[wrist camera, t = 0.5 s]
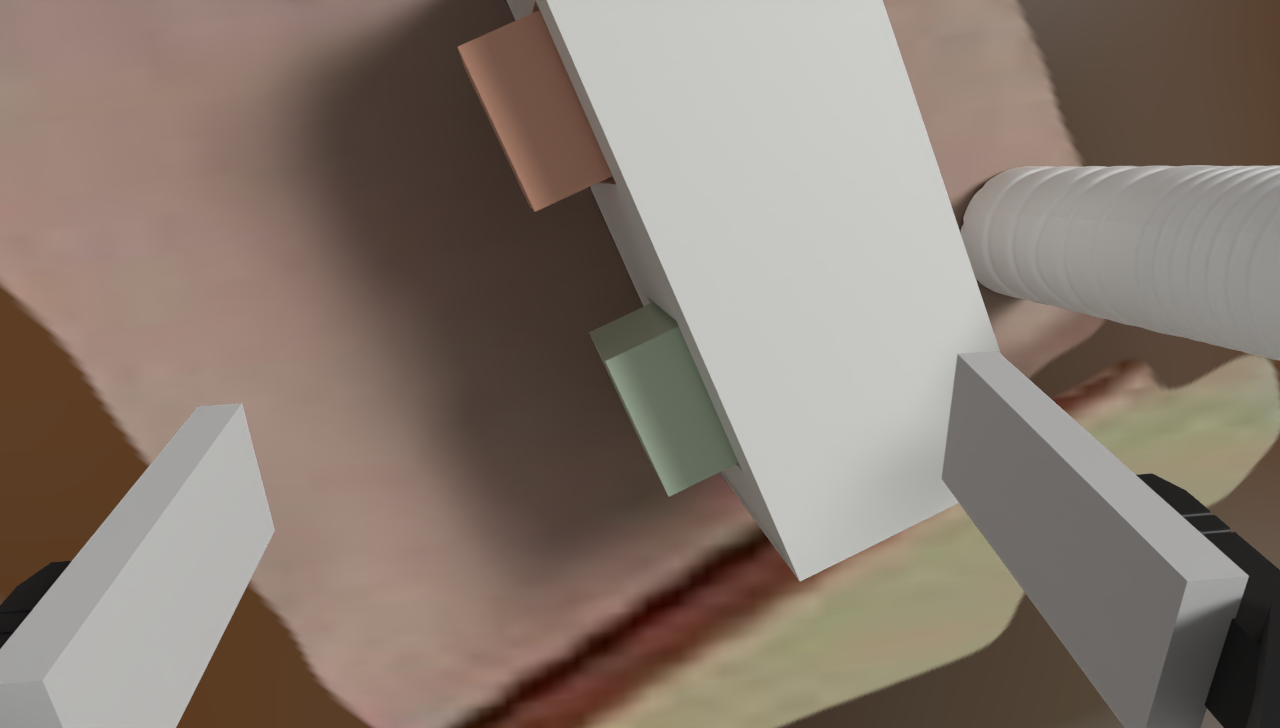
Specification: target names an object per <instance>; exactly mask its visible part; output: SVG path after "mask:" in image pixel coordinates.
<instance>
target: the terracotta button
mask: <svg viewBox="0 0 1280 728" xmlns="http://www.w3.org/2000/svg"><path fill="white" fill-rule="evenodd" d="M458 50H459V53H460V56H461V59H462V62H463V66H464V68H465V70H466V72H467V75H468V77H469V79H470V81H471V83H472V85H473V87H474V89H475V92H476V94H477V96H478V98H479V100H480V102H481V104H482V107H483V109H484V111H485V113H486V115H487V117H488V119H489V121H490V124H491V126H492V128H493V130H494V132H495V134H496V136H497V138H498V141H499V143H500V145H501V147H502V149H503V151H504V153H505V155H506V158H507V160H508V162H509V164H510V166H511V168H512V170H513V172H514V175H515V177H516V179H517V181H518V183H519V185H520V187H521V189H522V192H523V194H524V196H525V198H526V200H527V202H528V204H529V206H530V207H531V208H532V209H533V210H534V211H535V212H536V211H538V210H540V209H543V208H545V207H547V206H549V205H551V204H553V203H556V202H558V201H560V200H562V199H564V198H566V197H569V196H571V195H573V194H575V193H577V192H579V191H582V190H584V189H586V188H588V187H590V186H592V185H595V184H597V183H599V182H601V181H603V180H605V179H608V178H610V177H612V173H611V171H610V169H609V167H608V164H607V162H606V160H605V157H604V155H603V153H602V151H601V148H600V146H599V144H598V142H597V139H596V137H595V135H594V132H593V130H592V128H591V126H590V123H589V121H588V119H587V116H586V114H585V112H584V110H583V107H582V105H581V103H580V101H579V98H578V96H577V94H576V91H575V89H574V87H573V85H572V82H571V80H570V78H569V75H568V73H567V71H566V69H565V66H564V64H563V62H562V60H561V57H560V55H559V53H558V50H557V48H556V46H555V44H554V41H553V39H552V37H551V35H550V32H549V30H548V28H547V25H546V23H545V21H544V19H543V16H542V14H541V12H540V10H538V11H536V12H534V13H532V14H529V15H527V16H525V17H523V18H520V19H518V20H516V21H514V22H511V23H509V24H507V25H505V26H503V27H500V28H498V29H496V30H494V31H491V32H489V33H487V34H485V35H483V36H480V37H478V38H476V39H474V40H471V41H469V42H467V43H465V44H462V45H460V46H458Z"/></svg>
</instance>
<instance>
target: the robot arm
mask: <svg viewBox="0 0 1280 728" xmlns="http://www.w3.org/2000/svg"><path fill="white" fill-rule="evenodd" d="M942 480H943V481H944V483H945V484H946V486H947V487H948V488H949V490H950V491H951V492H952V494H953V495H954V496H955V498H956V499H957V501H958V502H959V503H960V505H961V506H962V507H963V509H964V510H965V511H966V513H967V514H968V515H969V517H970V518H971V520H972V521H973V522H974V524H975V525H976V526H977V528H978V529H979V530H980V532H981V533H982V534H983V536H984V537H985V539H986V540H987V541H988V543H989V544H990V545H991V547H992V548H993V549H994V551H995V552H996V554H997V555H998V556H999V558H1000V559H1001V560H1002V562H1003V563H1004V564H1005V566H1006V567H1007V568H1008V570H1009V571H1010V573H1011V574H1012V575H1013V577H1014V578H1015V579H1016V581H1017V582H1018V583H1019V585H1020V586H1021V587H1022V589H1023V590H1024V592H1025V593H1026V594H1027V596H1028V597H1029V598H1030V600H1031V601H1032V602H1033V604H1034V605H1035V607H1036V608H1037V609H1038V610H1039V612H1040V613H1041V615H1042V616H1043V617H1044V619H1045V620H1046V621H1047V622H1048V624H1049V626H1050V627H1051V628H1052V630H1053V631H1054V632H1055V634H1056V635H1057V636H1058V638H1059V639H1060V640H1061V642H1062V643H1063V644H1064V646H1065V647H1066V649H1067V650H1068V651H1069V653H1070V654H1071V655H1072V657H1073V658H1074V660H1075V661H1076V662H1077V664H1078V665H1079V666H1080V668H1081V669H1082V670H1083V672H1084V673H1085V674H1086V676H1087V677H1088V679H1089V680H1090V681H1091V682H1092V684H1093V685H1094V687H1095V688H1096V689H1097V691H1098V692H1099V693H1100V695H1101V696H1102V698H1103V699H1104V700H1105V702H1106V703H1107V704H1108V706H1109V707H1110V708H1111V710H1112V711H1113V712H1114V714H1115V715H1116V717H1117V718H1118V719H1119V721H1120V722H1121V723H1122V725H1123V726H1124V727H1125V728H1200V727H1201V724H1202V721H1203V718H1204V715H1205V712H1206V709H1208V710H1209V711H1210V712H1211V713H1212V714H1213V716H1214V717H1215V718H1216V719H1217V720H1218V721H1219V722H1220V724H1221V725H1222V726H1223V727H1224V728H1280V570H1279V569H1278V568H1277V567H1276V566H1274V565H1273V564H1272V563H1271V562H1270V561H1268V560H1267V559H1266V558H1265V557H1264V556H1262V555H1261V554H1260V553H1259V552H1258V551H1257V550H1256V549H1254V548H1253V547H1252V546H1251V545H1250V544H1248V543H1247V542H1246V541H1245V540H1244V539H1242V538H1241V537H1240V536H1239V535H1238V534H1237V533H1235V532H1230V528H1229V527H1228V526H1227V525H1226V524H1225V523H1224V522H1222V521H1221V520H1220V519H1219V518H1218V517H1217V516H1215V515H1211V514H1210V511H1209V510H1208V509H1207V508H1206V507H1205V506H1204V505H1202V504H1201V503H1200V502H1199V501H1198V500H1196V499H1195V498H1194V497H1193V496H1192V495H1191V494H1189V493H1188V492H1187V491H1186V490H1184V489H1182V488H1180V487H1178V486H1176V485H1174V484H1172V483H1170V482H1168V481H1166V480H1164V479H1162V478H1160V477H1158V476H1156V475H1154V474H1141V475H1135V474H1134V473H1133V472H1132V471H1131V470H1130V469H1129V468H1128V467H1126V466H1125V465H1124V464H1123V463H1122V462H1121V461H1120V460H1119V459H1117V458H1116V457H1115V456H1114V455H1113V454H1112V453H1111V452H1110V451H1108V450H1107V449H1106V448H1105V447H1104V446H1103V445H1102V444H1101V443H1100V442H1098V441H1097V440H1096V439H1095V438H1094V437H1093V436H1092V435H1091V434H1089V433H1088V432H1087V431H1086V430H1085V429H1084V428H1083V427H1082V426H1081V425H1079V424H1078V423H1077V422H1076V421H1075V420H1074V419H1073V418H1072V417H1070V416H1069V415H1068V414H1067V413H1066V412H1065V411H1064V410H1063V409H1061V408H1060V407H1059V406H1058V405H1057V404H1056V403H1055V402H1054V401H1053V400H1051V399H1050V398H1049V397H1048V396H1047V395H1046V394H1045V393H1043V392H1042V391H1041V390H1040V389H1039V388H1038V387H1037V386H1036V385H1035V384H1033V383H1032V382H1031V381H1030V380H1029V379H1028V378H1027V377H1026V376H1025V375H1023V374H1022V373H1021V372H1020V371H1019V370H1018V369H1017V368H1016V367H1014V366H1013V365H1012V364H1011V363H1010V362H1009V361H1008V360H1007V359H1006V358H1004V357H1003V356H1002V355H1001V354H1000V353H999V352H998V351H991V352H976V353H962V354H957V362H956V370H955V377H954V385H953V393H952V401H951V409H950V416H949V424H948V432H947V440H946V448H945V455H944V463H943V471H942ZM274 531H275V530H274V526H273V522H272V518H271V514H270V510H269V506H268V502H267V499H266V495H265V491H264V487H263V483H262V479H261V475H260V471H259V468H258V464H257V460H256V456H255V452H254V448H253V444H252V441H251V437H250V433H249V429H248V425H247V421H246V417H245V413H244V410H243V406H242V403H238V404H224V405H210V406H198V407H197V408H196V409H195V410H194V412H193V413H192V414H191V415H190V417H189V418H188V419H187V420H186V422H185V423H184V424H183V425H182V426H181V428H180V429H179V430H178V431H177V433H176V434H175V435H174V436H173V438H172V439H171V440H170V441H169V442H168V444H167V445H166V446H165V447H164V449H163V450H162V451H161V452H160V454H159V455H158V456H157V457H156V458H155V460H154V461H153V462H152V463H151V465H150V466H149V467H148V468H147V469H146V471H145V472H144V473H143V475H142V476H141V477H140V478H139V479H138V481H137V482H136V483H135V484H134V485H133V487H132V488H131V489H130V490H129V492H128V493H127V494H126V495H125V497H124V498H123V499H122V500H121V501H120V503H119V504H118V505H117V506H116V508H115V509H114V510H113V511H112V513H111V514H110V515H109V516H108V517H107V519H106V520H105V521H104V523H103V524H102V525H101V526H100V527H99V529H98V530H97V531H96V532H95V534H94V535H93V536H92V537H91V538H90V540H89V541H88V542H87V543H86V545H85V546H84V547H83V548H82V549H81V551H80V552H79V553H78V554H77V556H76V557H75V558H74V559H73V560H72V561H64V562H52V563H50V564H49V565H47V566H46V567H44V568H43V569H41V570H40V571H38V572H37V573H36V574H34V575H33V576H31V577H30V578H28V579H27V580H26V581H24V582H23V583H21V584H20V585H18V586H17V587H16V588H15V589H14V591H13V592H12V593H11V594H10V595H9V596H8V597H7V599H6V600H5V601H4V602H3V603H2V604H1V605H0V728H176V726H177V725H178V723H179V721H180V719H181V717H182V715H183V713H184V711H185V709H186V707H187V705H188V703H189V701H190V699H191V697H192V695H193V693H194V691H195V689H196V687H197V685H198V683H199V681H200V679H201V677H202V675H203V673H204V671H205V669H206V667H207V665H208V663H209V661H210V659H211V657H212V655H213V653H214V651H215V649H216V647H217V645H218V643H219V641H220V639H221V637H222V635H223V633H224V631H225V629H226V627H227V625H228V623H229V621H230V619H231V617H232V615H233V613H234V611H235V609H236V607H237V605H238V603H239V601H240V599H241V597H242V595H243V593H244V591H245V589H246V587H247V585H248V583H249V581H250V579H251V577H252V575H253V573H254V571H255V569H256V567H257V565H258V563H259V561H260V559H261V557H262V555H263V553H264V551H265V549H266V547H267V545H268V543H269V541H270V539H271V537H272V535H273V533H274Z"/></svg>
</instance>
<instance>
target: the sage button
mask: <svg viewBox="0 0 1280 728" xmlns="http://www.w3.org/2000/svg"><path fill="white" fill-rule="evenodd" d="M589 334H590V336H591V338H592V340H593V343H594V345H595V347H596V349H597V351H598V353H599V355H600V357H601V360H602V362H603V364H604V366H605V368H606V370H607V372H608V374H609V377H610V379H611V381H612V383H613V385H614V387H615V389H616V391H617V394H618V396H619V398H620V400H621V402H622V404H623V406H624V408H625V411H626V413H627V415H628V417H629V419H630V421H631V423H632V425H633V428H634V430H635V432H636V434H637V436H638V438H639V440H640V442H641V445H642V447H643V449H644V451H645V453H646V455H647V456H648V458H649V460H650V462H651V464H652V466H653V468H654V470H655V472H656V474H657V475H658V477H659V479H660V481H661V483H662V485H663V487H664V489H665V491H666V493H667V494H668V496H669V497H670V496H672V495H674V494H676V493H678V492H680V491H682V490H684V489H686V488H688V487H690V486H692V485H694V484H697V483H699V482H701V481H703V480H705V479H707V478H709V477H711V476H713V475H715V474H717V473H719V472H721V471H723V470H725V469H727V468H729V467H732V466H734V465H736V464H738V460H737V458H736V456H735V453H734V451H733V449H732V447H731V444H730V442H729V440H728V437H727V435H726V433H725V431H724V428H723V426H722V424H721V422H720V419H719V417H718V415H717V412H716V410H715V408H714V406H713V403H712V401H711V399H710V396H709V394H708V392H707V390H706V387H705V385H704V383H703V381H702V378H701V376H700V374H699V371H698V369H697V367H696V365H695V362H694V360H693V358H692V356H691V353H690V351H689V349H688V346H687V344H686V342H685V340H684V337H683V335H682V333H681V330H680V328H679V326H678V324H677V321H676V320H675V319H673V318H672V317H671V316H670V315H669V314H667V313H666V312H665V311H664V310H663V309H661V308H660V307H659V306H658V305H657V304H655V303H654V302H652V303H650V304H648V305H646V306H644V307H642V308H640V309H638V310H635V311H633V312H631V313H629V314H627V315H625V316H623V317H621V318H618V319H616V320H614V321H612V322H610V323H608V324H606V325H604V326H601V327H599V328H597V329H595V330H593V331H591V332H589Z"/></svg>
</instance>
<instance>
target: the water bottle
mask: <svg viewBox="0 0 1280 728" xmlns="http://www.w3.org/2000/svg"><path fill="white" fill-rule="evenodd" d="M963 221H964V224H963V226H962V228H961V236H962V239H963V242H964V245H965V248H966V251H967V254H968V257H969V260H970V263H971V266H972V269H973V272H974V275H975V278H976V280H977V281H978V282H980V283H981V284H982V285H983V286H985V287H987V288H988V289H991V290H992V291H994V292H997V293H1000V294H1003V295H1007V296H1011V297H1015V298H1020V299H1025V300H1030V301H1033V302H1037V303H1041V304H1045V305H1051V306H1056V307H1059V308H1062V309H1065V310H1069V311H1074V312H1079V313H1085V314H1088V315H1091V316H1094V317H1098V318H1104V319H1109V320H1112V321H1115V322H1119V323H1123V324H1127V325H1132V326H1139V327H1142V328H1145V329H1148V330H1152V331H1155V332H1159V333H1164V334H1169V335H1175V336H1180V337H1186V338H1189V339H1192V340H1196V341H1201V342H1206V343H1208V344H1212V345H1217V346H1222V347H1225V348H1229V349H1233V350H1239V351H1243V352H1246V353H1249V354H1254V355H1260V356H1263V357H1266V358H1270V359H1275V360H1280V166H1228V167H1226V166H1207V165H1192V166H1190V165H1189V166H1178V167H1174V166H1144V167H1136V166H1114V167H1103V166H1090V167H1089V166H1088V167H1072V166H1065V167H1047V166H1038V167H1020V168H1014V169H1010V170H1007V171H1004V172H1002V173H1000V174H998V175H996V176H994V177H993V178H991V179H990V180H989V181H987V182H986V183H985V184H984V186H983V188H981V189H980V190H979V191H978V192H977V193H976V194H975V195H974V196H973V198H972V199H971V201H970V203H969V205H968V207H967V209H966V211H965V214H964V218H963Z"/></svg>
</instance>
